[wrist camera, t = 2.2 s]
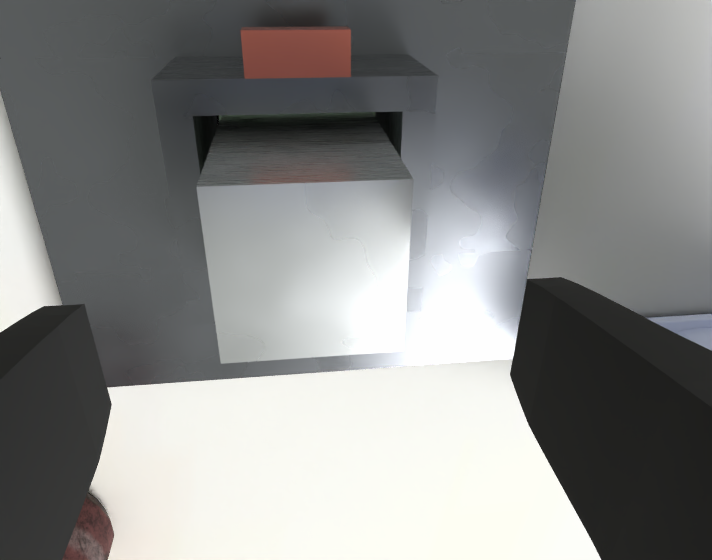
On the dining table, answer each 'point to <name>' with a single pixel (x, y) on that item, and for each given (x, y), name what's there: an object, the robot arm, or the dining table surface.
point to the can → (90, 533)
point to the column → (305, 236)
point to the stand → (279, 96)
